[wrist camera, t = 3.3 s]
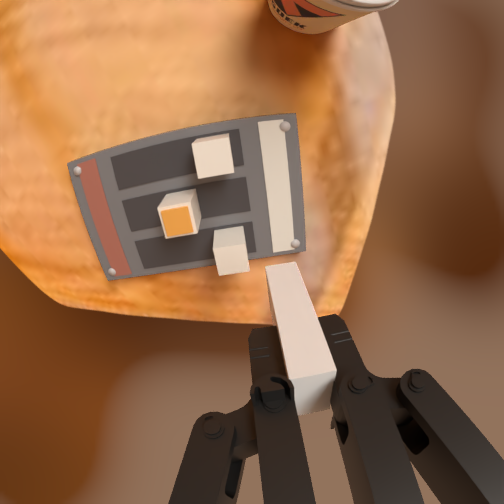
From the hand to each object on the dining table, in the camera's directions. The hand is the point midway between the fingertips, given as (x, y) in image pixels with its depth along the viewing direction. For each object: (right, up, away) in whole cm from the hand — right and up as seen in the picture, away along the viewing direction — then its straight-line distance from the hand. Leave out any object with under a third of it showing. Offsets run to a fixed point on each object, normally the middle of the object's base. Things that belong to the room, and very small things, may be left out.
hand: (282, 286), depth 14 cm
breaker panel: (-8, +7, +15) cm, 18 cm away
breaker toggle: (-8, +6, +13) cm, 17 cm away
